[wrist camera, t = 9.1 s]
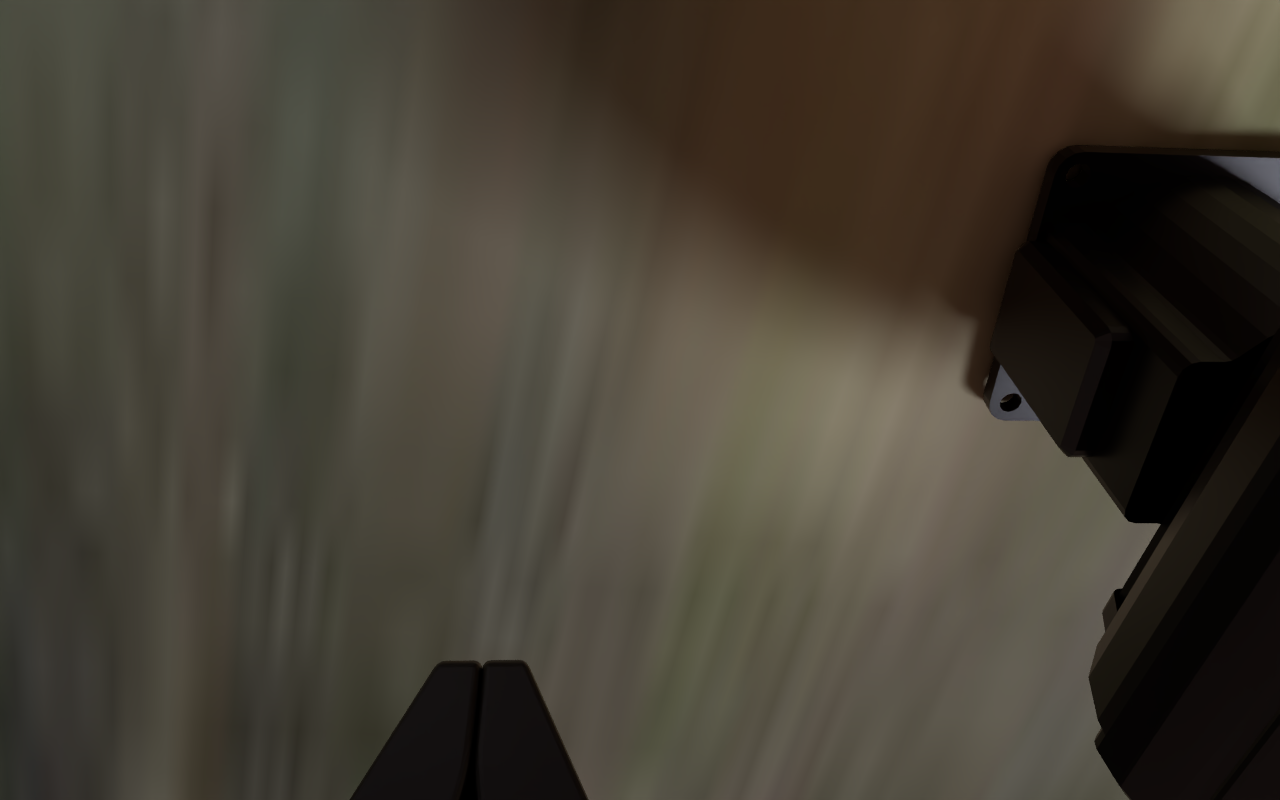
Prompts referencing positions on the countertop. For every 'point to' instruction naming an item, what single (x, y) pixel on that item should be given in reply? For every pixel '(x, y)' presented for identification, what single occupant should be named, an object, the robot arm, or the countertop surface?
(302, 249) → the countertop surface
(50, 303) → the countertop surface
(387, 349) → the countertop surface
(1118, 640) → the robot arm
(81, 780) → the countertop surface
